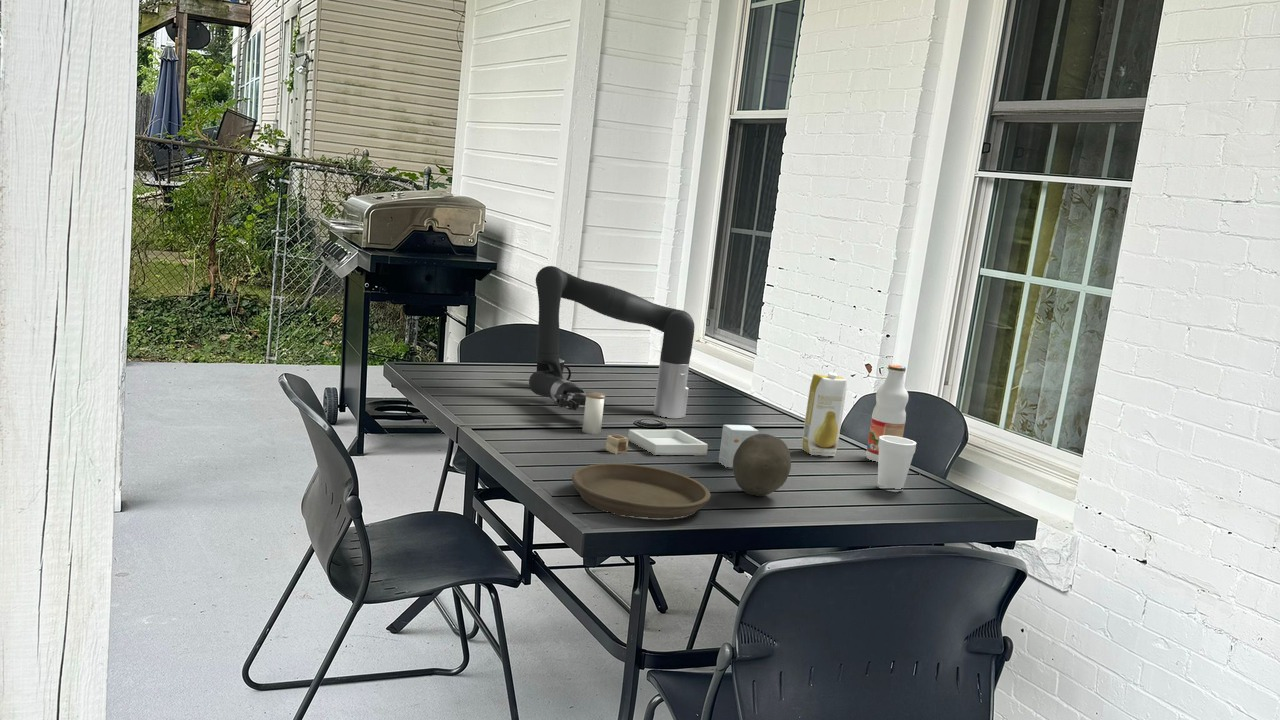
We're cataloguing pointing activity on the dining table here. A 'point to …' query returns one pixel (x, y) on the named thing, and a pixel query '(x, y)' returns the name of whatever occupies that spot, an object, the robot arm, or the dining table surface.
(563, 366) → the mug
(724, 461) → the small box
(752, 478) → the cantaloupe
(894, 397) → the fruit juice
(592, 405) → the canister
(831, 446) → the juice carton
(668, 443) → the tray
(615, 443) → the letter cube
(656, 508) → the plant saucer
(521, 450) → the dining table surface
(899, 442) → the foam cup
